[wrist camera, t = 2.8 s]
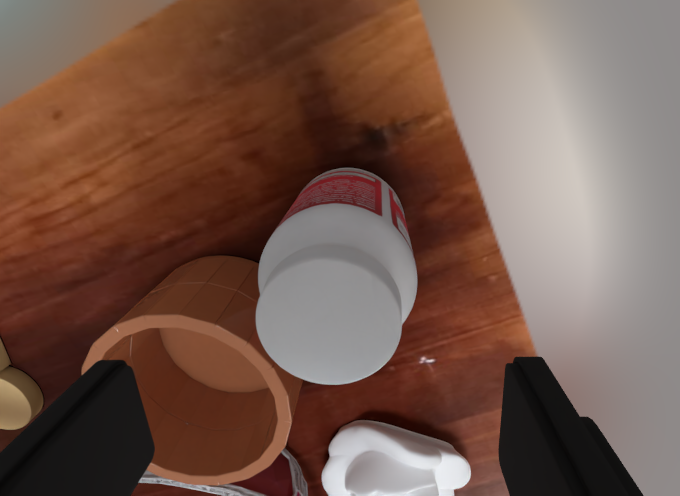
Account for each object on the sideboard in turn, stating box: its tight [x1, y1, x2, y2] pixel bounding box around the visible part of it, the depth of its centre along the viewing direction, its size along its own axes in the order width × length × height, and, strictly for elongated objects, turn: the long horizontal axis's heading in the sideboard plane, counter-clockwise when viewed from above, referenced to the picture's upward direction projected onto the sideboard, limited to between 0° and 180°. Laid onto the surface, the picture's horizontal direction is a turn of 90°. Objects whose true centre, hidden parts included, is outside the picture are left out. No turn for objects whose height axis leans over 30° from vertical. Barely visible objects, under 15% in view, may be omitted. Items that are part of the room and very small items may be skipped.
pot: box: [82, 255, 303, 486], centre depth 23 cm, size 10×10×7 cm
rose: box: [322, 420, 471, 496], centre depth 27 cm, size 10×4×10 cm
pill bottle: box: [256, 168, 417, 385], centre depth 18 cm, size 6×6×11 cm
